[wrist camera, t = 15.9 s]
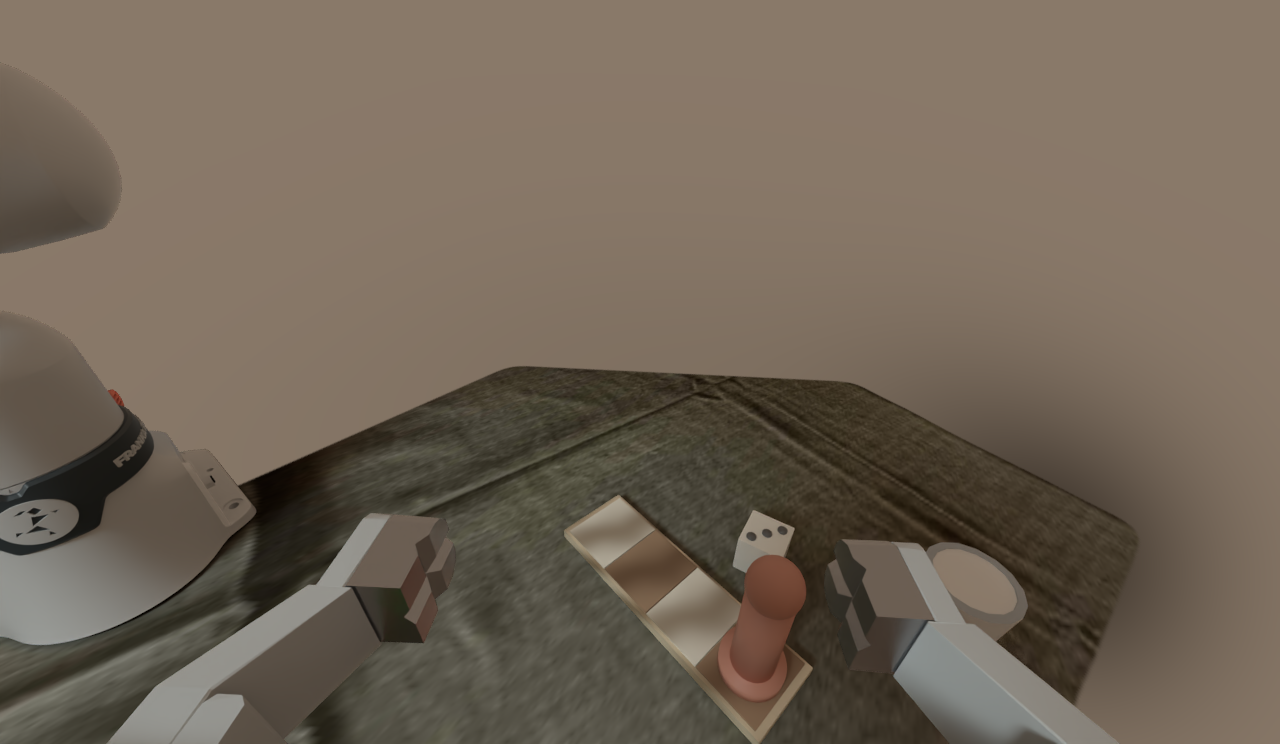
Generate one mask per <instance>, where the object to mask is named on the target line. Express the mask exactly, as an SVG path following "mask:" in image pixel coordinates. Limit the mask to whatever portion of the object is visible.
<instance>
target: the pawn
mask: <svg viewBox="0 0 1280 744" xmlns="http://www.w3.org/2000/svg"><path fill="white" fill-rule="evenodd" d="M744 585H745V592H744V596H743V600H742V604H741V608H740V612H739V616H738V620H737V624H736V627H733V628H731V629H730V630H729V631H728V632H726V634H725V635H724V636H723V638H722V640H721V643H720V646H719V651H718V657H717V663H718V669H719V672H720V675H721V677H722V679H723V681H724V682H725V684H726V685H727V687H728V688H729V689H730V690H731V691H732V692H733V693H734V694H736V695H737V696H738V697H740V698H742V699H744V700H746V701H750V702H755V703H761V702H766V701H769V700H771V699H773V698H774V697H775V696H776V695H777V694H778V693H779V692H780V690H781V688H782V686H783V683H784V681H785V678H786V674H787V662H786V658H785V654H784V652H783V648H784V645H785V643H786V640H787V637H788V635H789V632H790V629H791V627H792V624H793V621H794V618H795V616H796V614H797V613H798V612H799V611H800V609H801V608H802V606H803V604H804V602H805V598H806V585H805V581H804V578H803V576H802V574H801V572H800V570H799V569H798V568H797V567H796V565H795V564H794V563H792V562H791V561H790V560H788V559H786V558H784V557H782V556H779V555H765V556H762V557H759V558H758V559H756V560H755V561H754V562H753V563H752V564H751V565H750V566H749V568H748V570H747V572H746V575H745V582H744Z"/></svg>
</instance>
